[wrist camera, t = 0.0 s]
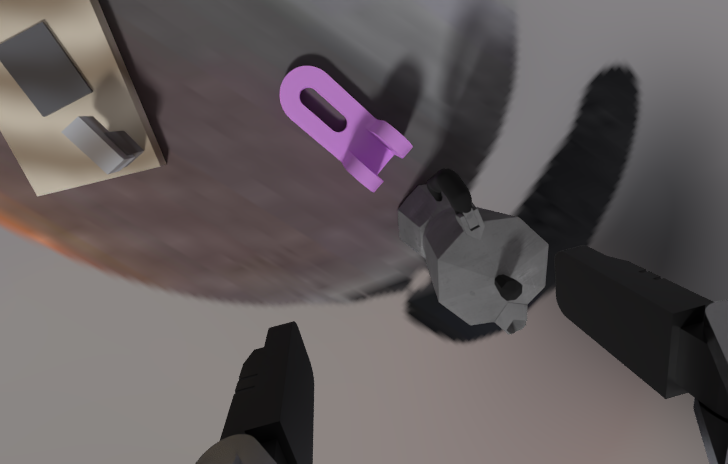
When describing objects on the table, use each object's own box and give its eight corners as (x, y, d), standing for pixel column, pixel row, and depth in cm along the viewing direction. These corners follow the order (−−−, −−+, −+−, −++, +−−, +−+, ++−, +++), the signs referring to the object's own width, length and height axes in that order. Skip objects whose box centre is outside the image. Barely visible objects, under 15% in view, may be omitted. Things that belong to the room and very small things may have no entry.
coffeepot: (489, 245, 43) (598, 330, 26) (421, 281, 44) (485, 387, 27) (440, 130, 38) (536, 143, 21) (363, 172, 38) (398, 218, 22)
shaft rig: (-80, -41, 29) (-169, -75, 23) (67, -73, 29) (12, -113, 24) (48, 193, 35) (2, 206, 30) (166, 164, 36) (140, 172, 31)
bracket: (400, 142, 38) (417, 148, 32) (367, 182, 39) (376, 196, 32) (304, 54, 34) (300, 40, 28) (269, 100, 35) (258, 97, 29)
